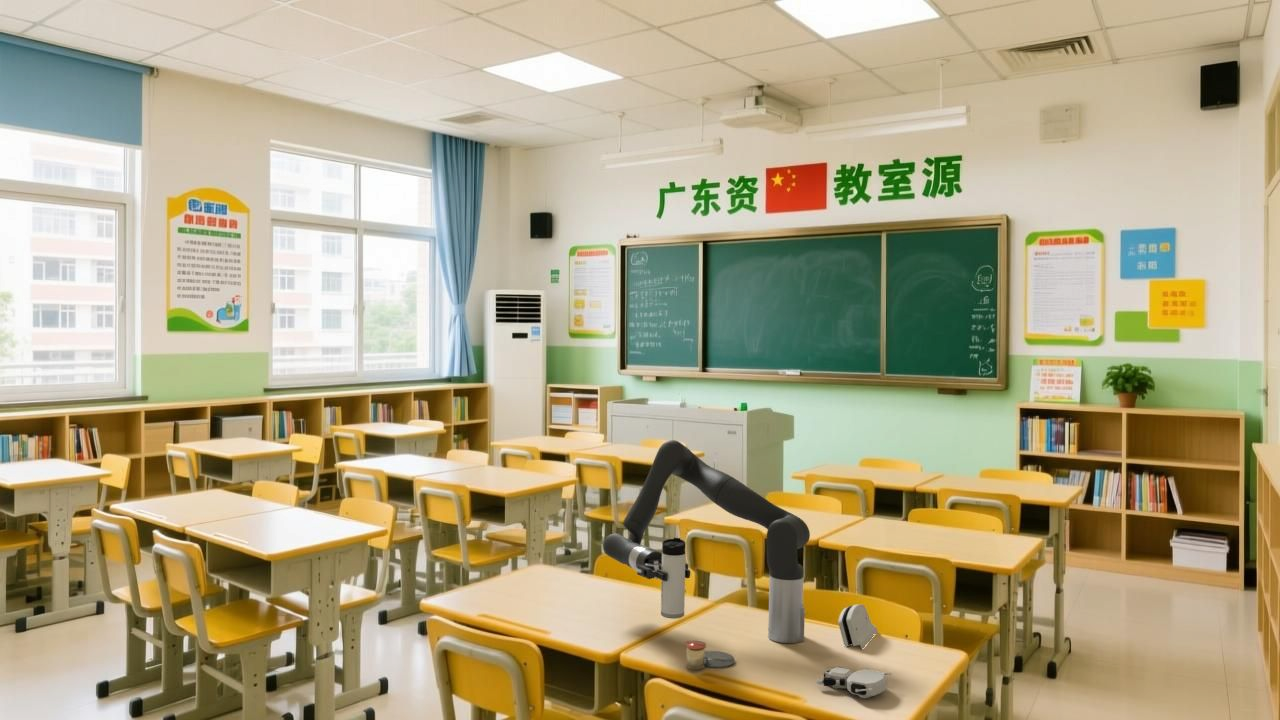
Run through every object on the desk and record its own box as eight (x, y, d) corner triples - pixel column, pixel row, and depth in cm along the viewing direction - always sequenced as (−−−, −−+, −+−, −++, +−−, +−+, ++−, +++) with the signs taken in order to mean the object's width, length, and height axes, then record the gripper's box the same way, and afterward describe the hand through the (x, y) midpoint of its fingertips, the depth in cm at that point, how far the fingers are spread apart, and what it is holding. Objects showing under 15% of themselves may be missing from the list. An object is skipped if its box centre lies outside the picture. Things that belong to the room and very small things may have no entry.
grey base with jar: (710, 651, 229) (711, 626, 229) (742, 660, 223) (742, 635, 223) (673, 666, 218) (673, 641, 218) (705, 677, 211) (705, 651, 211)
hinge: (863, 650, 232) (851, 613, 233) (846, 653, 234) (834, 616, 236) (878, 632, 247) (867, 597, 248) (862, 635, 249) (851, 600, 250)
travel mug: (687, 612, 235) (688, 538, 234) (680, 620, 228) (681, 544, 228) (665, 609, 237) (666, 536, 236) (657, 617, 230) (659, 541, 230)
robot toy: (813, 694, 205) (874, 706, 196) (812, 675, 205) (873, 686, 196) (835, 678, 215) (894, 689, 206) (834, 660, 215) (893, 670, 206)
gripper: (624, 550, 241) (654, 564, 227) (669, 545, 248) (701, 558, 233) (624, 577, 241) (653, 593, 227) (669, 571, 248) (700, 586, 234)
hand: (677, 575), depth 230 cm, fingers closed on travel mug, 6 cm apart
